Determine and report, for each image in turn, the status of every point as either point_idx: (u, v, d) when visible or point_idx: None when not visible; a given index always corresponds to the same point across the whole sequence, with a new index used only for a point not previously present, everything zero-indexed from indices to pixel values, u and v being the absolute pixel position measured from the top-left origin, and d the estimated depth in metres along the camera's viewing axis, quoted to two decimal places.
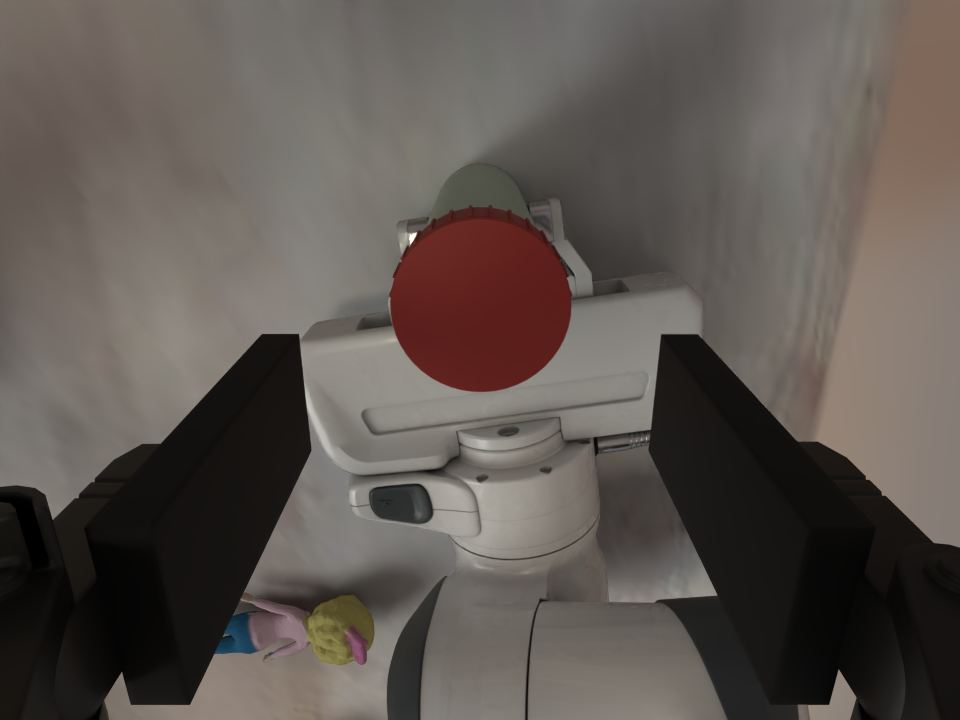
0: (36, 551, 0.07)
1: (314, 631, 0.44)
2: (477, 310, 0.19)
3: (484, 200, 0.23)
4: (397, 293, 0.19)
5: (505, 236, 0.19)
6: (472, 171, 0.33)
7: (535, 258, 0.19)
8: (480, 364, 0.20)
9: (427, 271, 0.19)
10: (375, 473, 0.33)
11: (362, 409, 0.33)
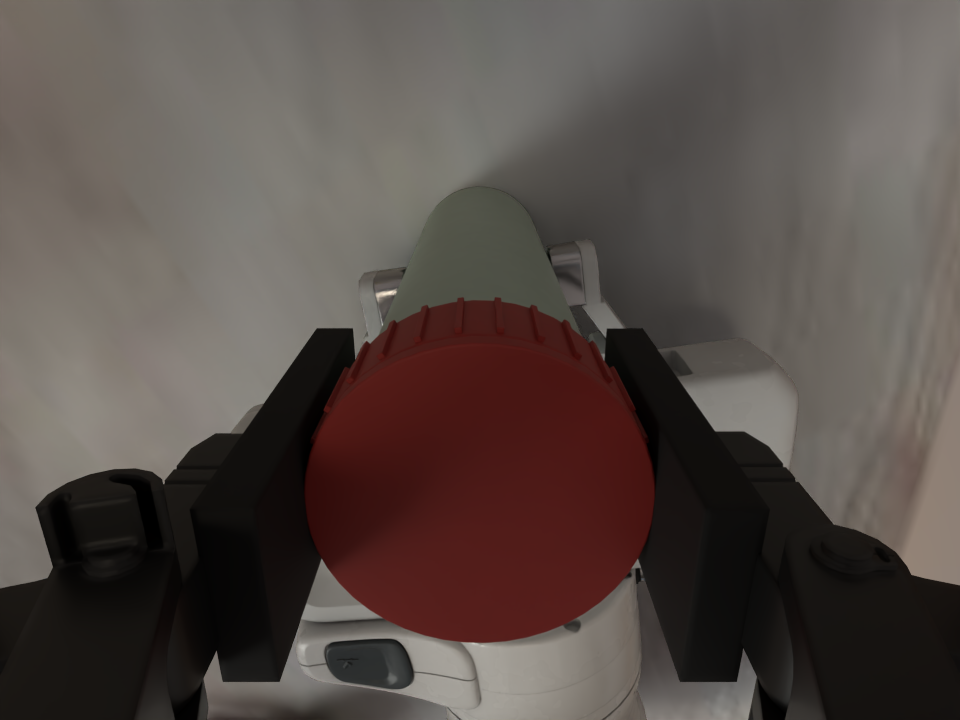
0: (150, 533, 0.08)
1: None
2: (473, 509, 0.10)
3: (486, 269, 0.14)
4: (316, 480, 0.10)
5: (529, 377, 0.09)
6: (468, 200, 0.24)
7: (588, 417, 0.09)
8: (479, 599, 0.11)
9: (374, 441, 0.10)
10: (333, 620, 0.24)
11: None
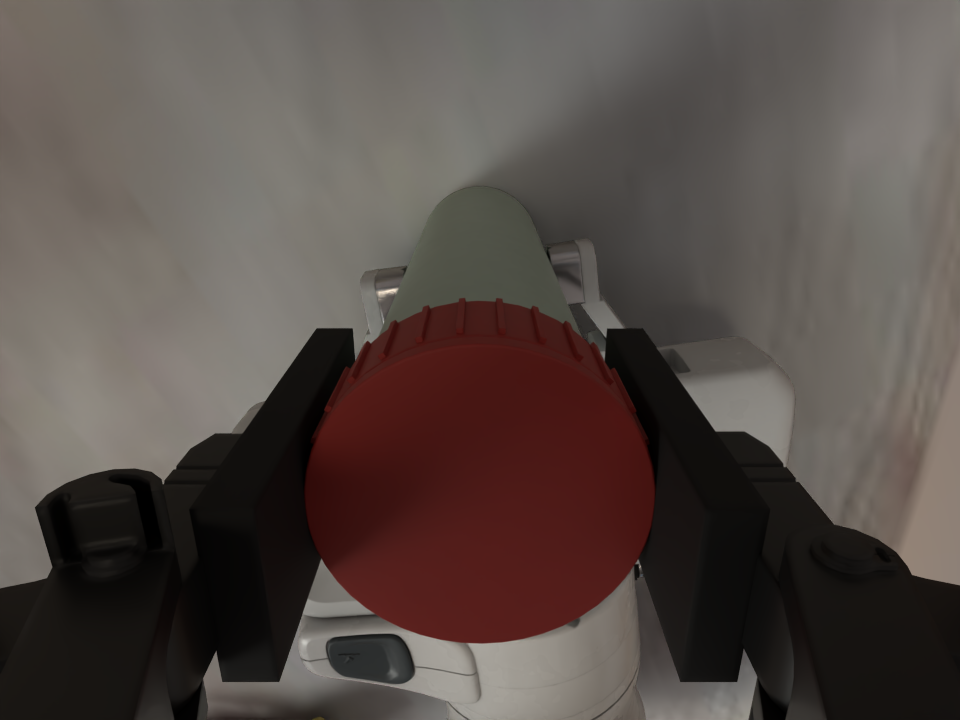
0: (149, 533, 0.08)
1: None
2: (485, 511, 0.10)
3: (486, 266, 0.14)
4: (576, 609, 0.11)
5: (360, 576, 0.10)
6: (469, 199, 0.24)
7: (337, 521, 0.10)
8: (555, 431, 0.10)
9: (508, 606, 0.11)
10: (335, 616, 0.24)
11: None
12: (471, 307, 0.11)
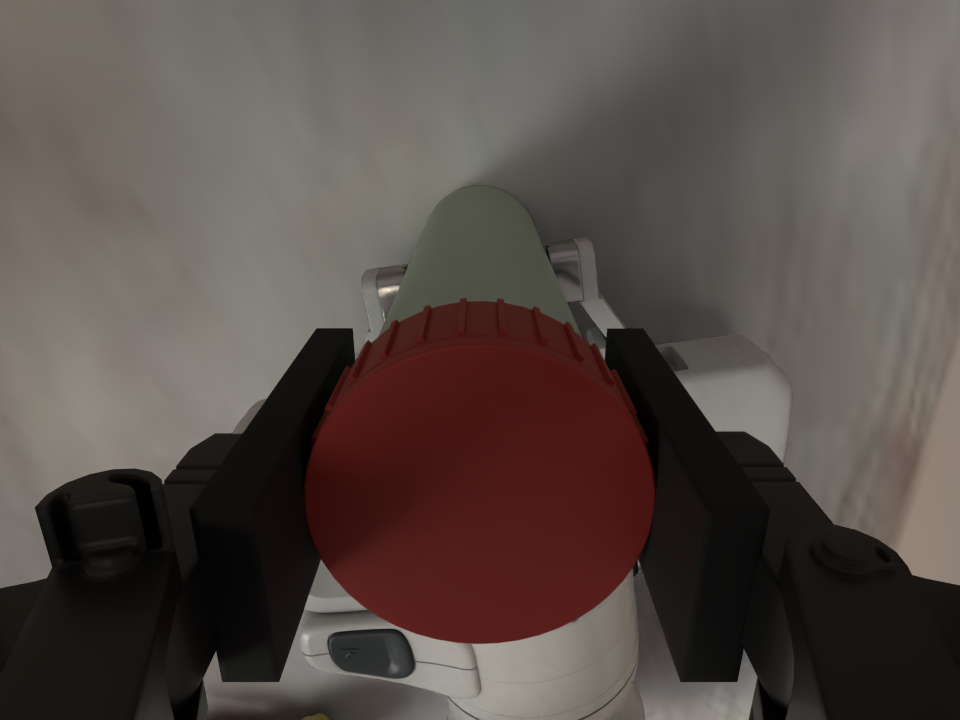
0: (150, 533, 0.08)
1: None
2: (477, 504, 0.10)
3: (486, 264, 0.14)
4: (479, 357, 0.09)
5: (627, 522, 0.10)
6: (469, 198, 0.24)
7: (595, 574, 0.10)
8: (369, 529, 0.10)
9: (537, 405, 0.09)
10: (336, 611, 0.24)
11: None
12: None
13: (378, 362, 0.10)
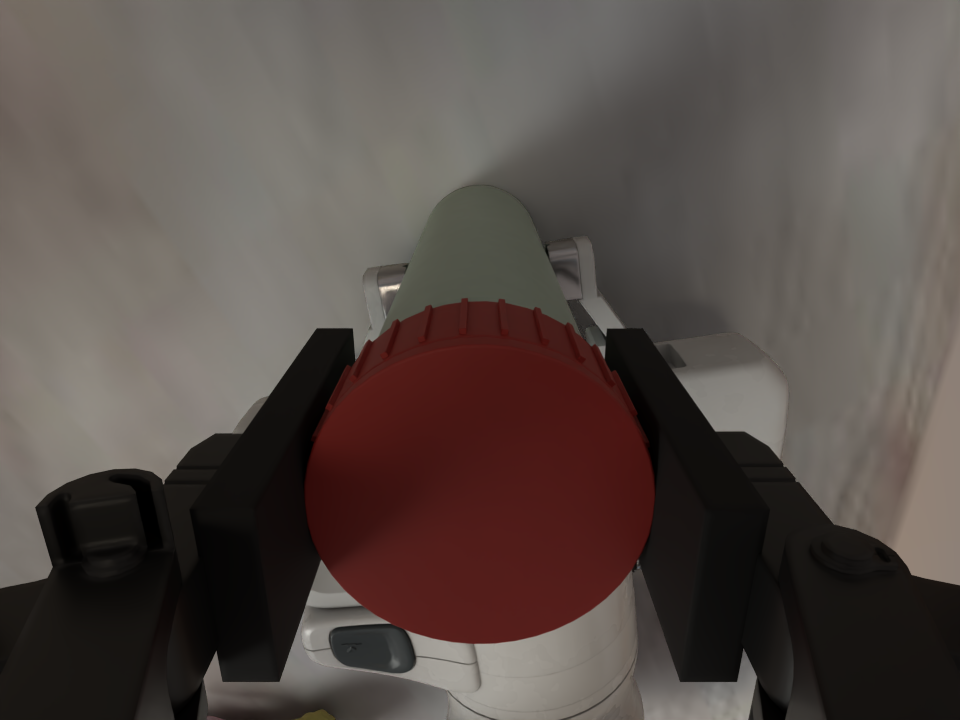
0: (150, 533, 0.08)
1: None
2: (477, 515, 0.10)
3: (486, 261, 0.15)
4: (384, 610, 0.11)
5: (366, 415, 0.09)
6: (469, 198, 0.24)
7: (432, 383, 0.09)
8: (577, 553, 0.10)
9: (369, 555, 0.10)
10: (337, 606, 0.25)
11: None
12: None
13: None
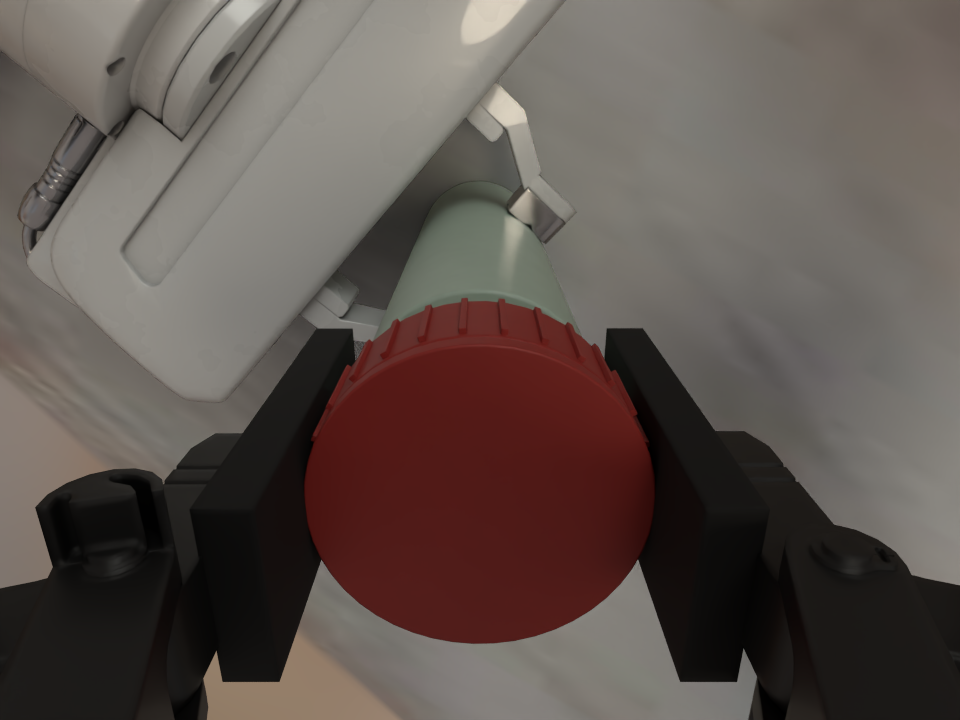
0: (150, 533, 0.07)
1: None
2: (477, 514, 0.10)
3: None
4: (384, 610, 0.11)
5: (366, 414, 0.09)
6: None
7: (432, 383, 0.09)
8: (577, 552, 0.10)
9: (369, 554, 0.10)
10: None
11: None
12: None
13: None
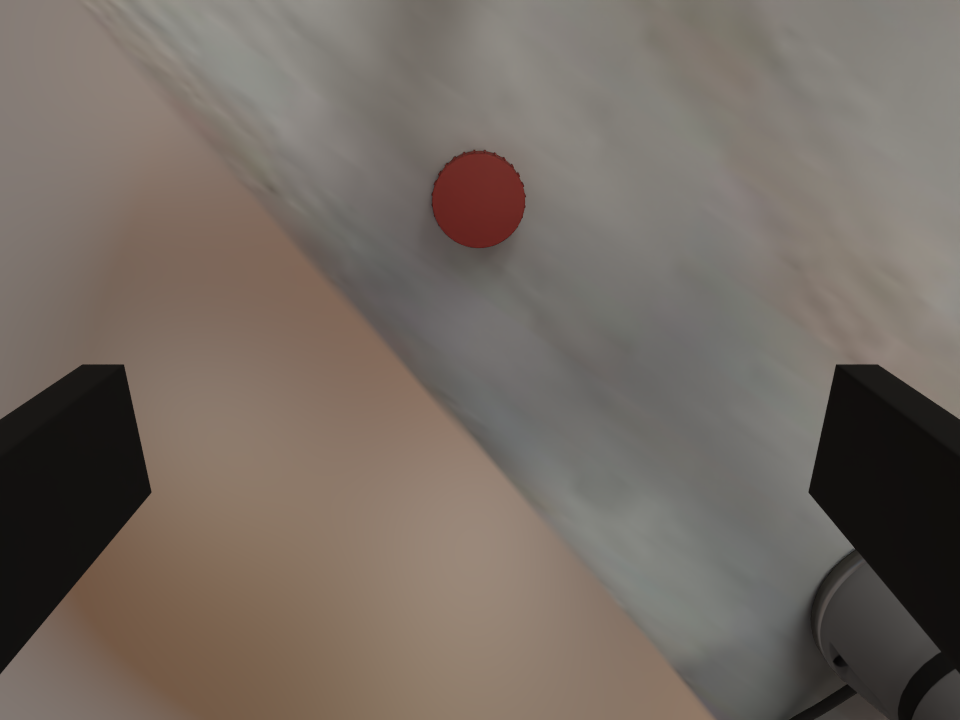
0: None
1: None
2: (478, 203, 0.38)
3: None
4: (452, 235, 0.39)
5: (450, 173, 0.37)
6: None
7: (466, 164, 0.37)
8: (505, 216, 0.38)
9: (448, 216, 0.38)
10: None
11: None
12: None
13: None
